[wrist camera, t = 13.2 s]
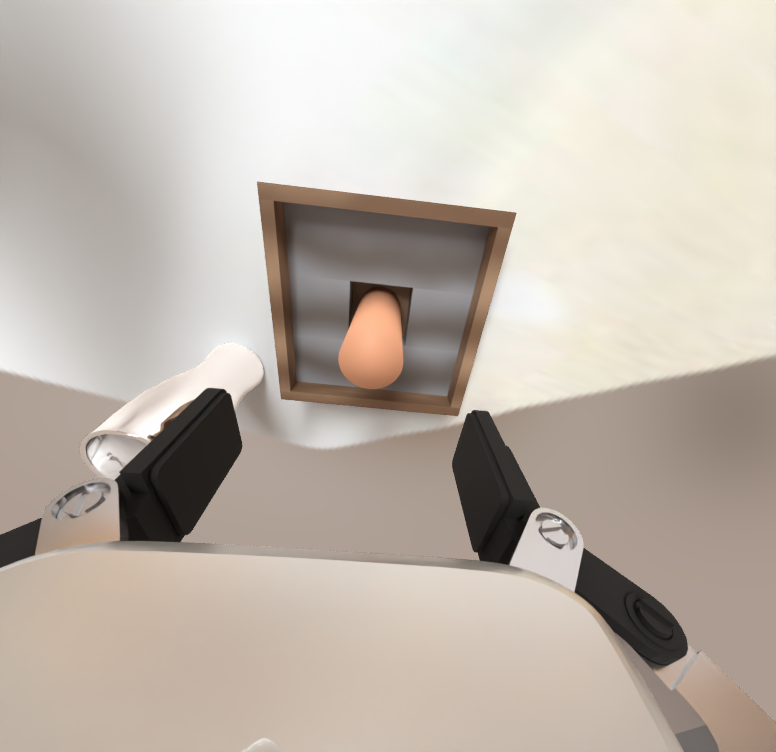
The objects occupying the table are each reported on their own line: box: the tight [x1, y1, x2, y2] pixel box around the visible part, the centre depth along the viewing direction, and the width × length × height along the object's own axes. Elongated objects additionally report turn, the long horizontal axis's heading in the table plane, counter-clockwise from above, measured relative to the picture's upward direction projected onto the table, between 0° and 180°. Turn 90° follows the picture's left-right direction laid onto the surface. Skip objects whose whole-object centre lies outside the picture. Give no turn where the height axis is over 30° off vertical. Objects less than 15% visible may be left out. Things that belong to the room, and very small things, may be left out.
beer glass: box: [79, 343, 264, 480], centre depth 26 cm, size 7×7×15 cm
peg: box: [338, 287, 403, 389], centre depth 22 cm, size 4×4×12 cm
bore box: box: [257, 182, 516, 416], centre depth 26 cm, size 18×18×6 cm
